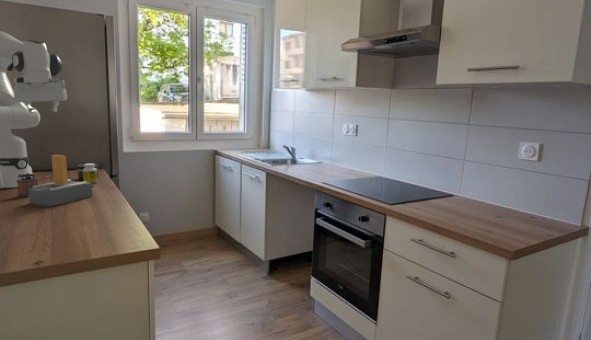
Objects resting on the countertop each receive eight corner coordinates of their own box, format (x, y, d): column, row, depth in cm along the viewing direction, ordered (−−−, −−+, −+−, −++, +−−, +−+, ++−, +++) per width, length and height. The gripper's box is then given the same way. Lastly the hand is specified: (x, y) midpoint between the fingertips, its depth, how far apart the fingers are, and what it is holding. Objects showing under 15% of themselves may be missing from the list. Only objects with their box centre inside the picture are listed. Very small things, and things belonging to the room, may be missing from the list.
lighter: (38, 193, 176) (36, 171, 175) (40, 194, 174) (38, 173, 172) (17, 196, 171) (15, 173, 169) (18, 197, 169) (16, 175, 167)
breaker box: (29, 203, 159) (27, 186, 158) (73, 193, 177) (72, 178, 176) (49, 206, 155) (47, 189, 153) (92, 196, 173) (91, 180, 172)
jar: (102, 178, 214) (101, 164, 213) (85, 181, 205) (84, 167, 204) (91, 176, 218) (90, 163, 217) (74, 179, 210) (72, 165, 208)
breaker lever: (53, 183, 165) (51, 155, 163) (58, 182, 167) (55, 154, 165) (63, 184, 163) (61, 156, 161) (68, 183, 165) (65, 155, 163)
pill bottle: (91, 187, 191) (90, 165, 189) (80, 186, 193) (79, 164, 191) (100, 184, 197) (98, 163, 195) (89, 183, 199) (88, 162, 197)
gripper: (68, 79, 168) (71, 111, 169) (19, 81, 166) (23, 113, 168) (60, 77, 161) (64, 110, 163) (9, 79, 160) (13, 112, 162)
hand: (43, 112), depth 165 cm, fingers open, 8 cm apart
